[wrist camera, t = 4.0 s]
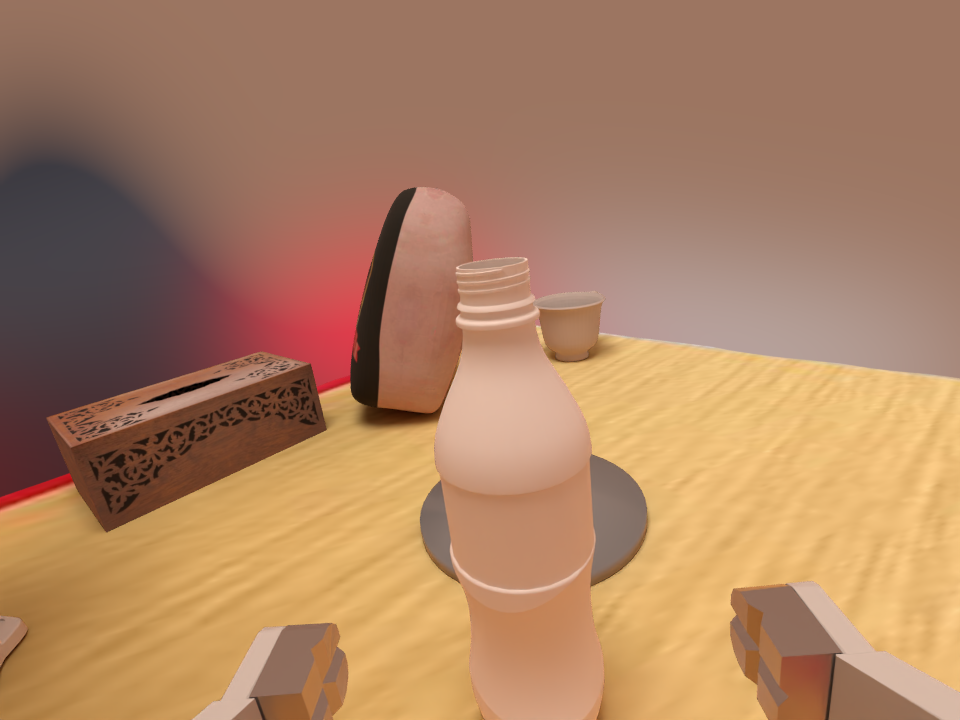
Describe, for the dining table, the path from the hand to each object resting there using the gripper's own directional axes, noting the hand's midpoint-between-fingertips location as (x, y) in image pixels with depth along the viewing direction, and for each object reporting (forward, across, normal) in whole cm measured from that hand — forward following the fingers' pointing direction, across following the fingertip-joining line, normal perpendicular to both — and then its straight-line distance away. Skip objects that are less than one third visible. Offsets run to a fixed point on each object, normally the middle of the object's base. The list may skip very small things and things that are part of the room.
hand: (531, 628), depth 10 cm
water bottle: (+12, 0, +19) cm, 23 cm away
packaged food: (+61, +13, +19) cm, 65 cm away
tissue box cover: (+48, +40, +19) cm, 65 cm away
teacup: (+74, -12, +19) cm, 78 cm away
